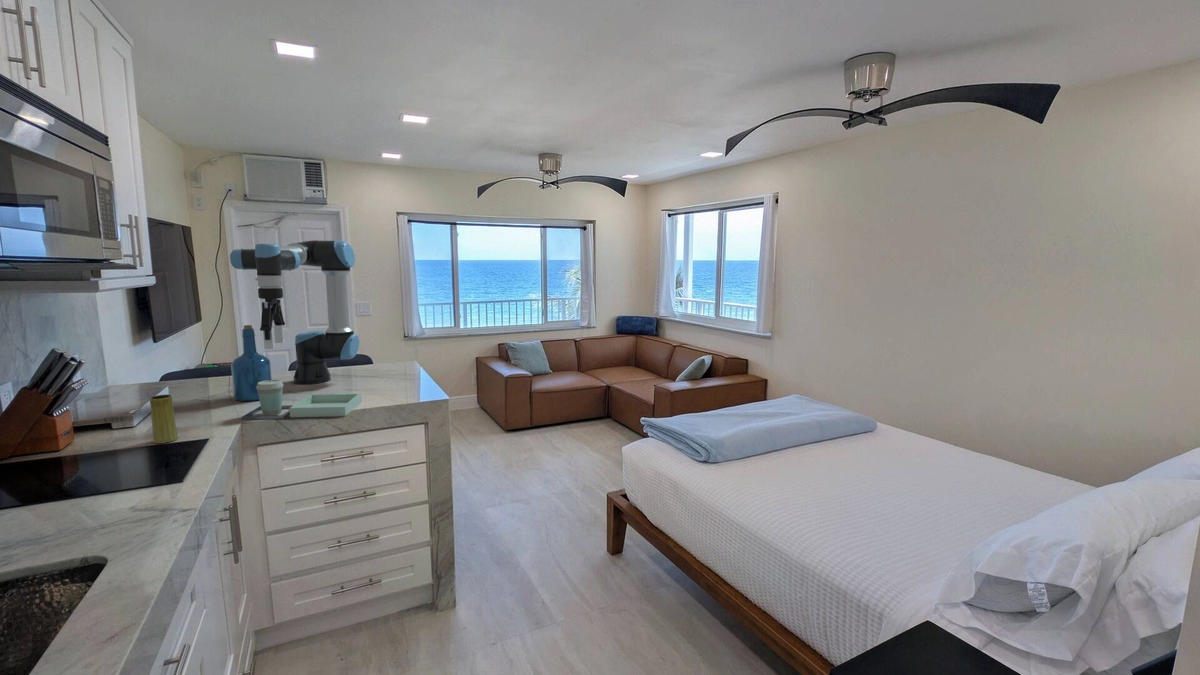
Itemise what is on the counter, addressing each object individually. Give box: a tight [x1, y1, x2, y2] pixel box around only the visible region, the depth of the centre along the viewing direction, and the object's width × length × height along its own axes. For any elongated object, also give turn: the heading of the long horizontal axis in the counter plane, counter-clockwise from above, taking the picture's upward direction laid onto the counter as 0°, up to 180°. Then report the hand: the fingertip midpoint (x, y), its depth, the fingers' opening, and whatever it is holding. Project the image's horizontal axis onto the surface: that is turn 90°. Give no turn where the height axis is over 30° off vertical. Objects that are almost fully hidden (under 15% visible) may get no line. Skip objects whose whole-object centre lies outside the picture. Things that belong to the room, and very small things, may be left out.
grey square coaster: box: [241, 404, 294, 421], centre depth 191 cm, size 14×14×1 cm
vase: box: [149, 394, 179, 444], centre depth 160 cm, size 6×6×14 cm
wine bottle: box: [230, 324, 273, 402], centre depth 208 cm, size 14×13×30 cm
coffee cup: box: [256, 379, 284, 416], centre depth 190 cm, size 8×9×12 cm
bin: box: [289, 392, 362, 418], centre depth 197 cm, size 19×19×4 cm
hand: (274, 345), depth 187 cm, fingers open, 13 cm apart
